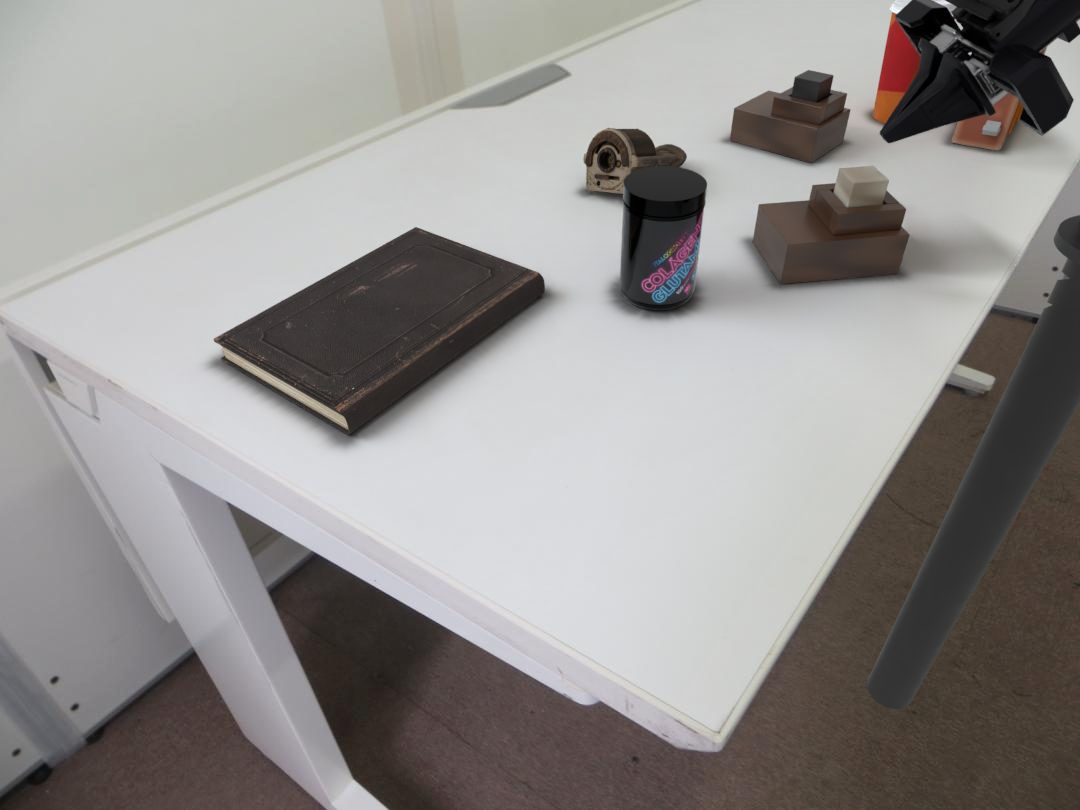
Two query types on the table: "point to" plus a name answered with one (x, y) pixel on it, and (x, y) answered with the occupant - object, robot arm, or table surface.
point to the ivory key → (860, 186)
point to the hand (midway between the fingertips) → (883, 138)
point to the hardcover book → (378, 325)
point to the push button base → (791, 124)
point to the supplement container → (661, 236)
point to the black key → (812, 86)
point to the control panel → (990, 124)
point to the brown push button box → (830, 237)
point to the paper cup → (897, 64)
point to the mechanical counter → (624, 157)
